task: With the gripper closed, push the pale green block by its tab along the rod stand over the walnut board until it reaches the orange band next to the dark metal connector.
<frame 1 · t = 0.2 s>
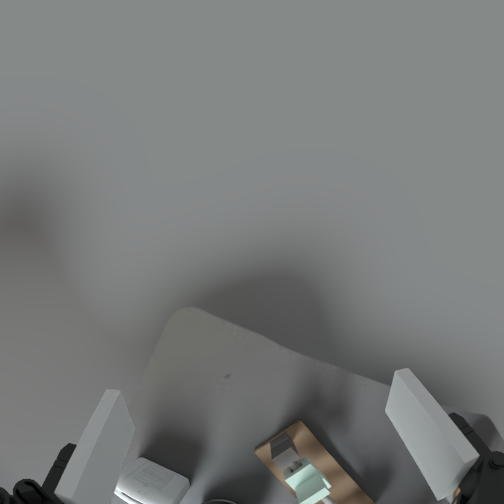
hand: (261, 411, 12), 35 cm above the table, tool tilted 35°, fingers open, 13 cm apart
photo printer: (162, 474, 39), on the table
rod stand: (319, 481, 38), on the table
pale green block: (309, 485, 29), point 11 cm above the table, slide at 0.0 cm
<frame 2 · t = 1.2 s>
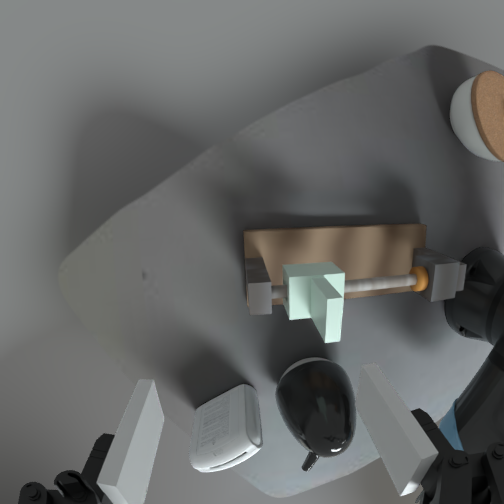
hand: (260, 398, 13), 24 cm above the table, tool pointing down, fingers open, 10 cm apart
photo printer: (226, 401, 41), on the table
pump dispenser: (306, 375, 41), on the table
rod stand: (341, 261, 37), on the table
lidded bowl: (465, 122, 34), on the table
pale green block: (318, 298, 26), point 12 cm above the table, slide at 0.0 cm
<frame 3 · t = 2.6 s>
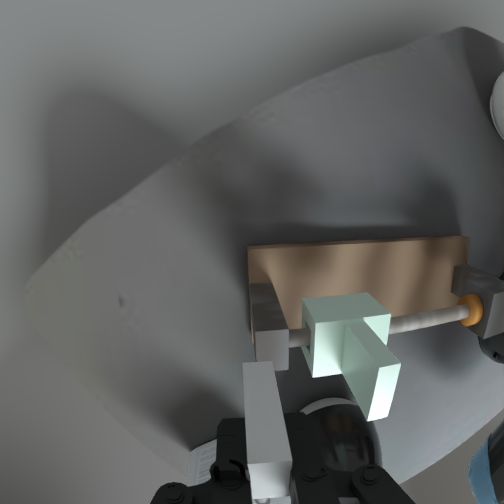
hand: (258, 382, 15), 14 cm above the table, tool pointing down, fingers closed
photo printer: (226, 443, 33), on the table
pump dispenser: (321, 415, 32), on the table
rod stand: (370, 284, 28), on the table
pale green block: (355, 350, 17), point 12 cm above the table, slide at 0.0 cm
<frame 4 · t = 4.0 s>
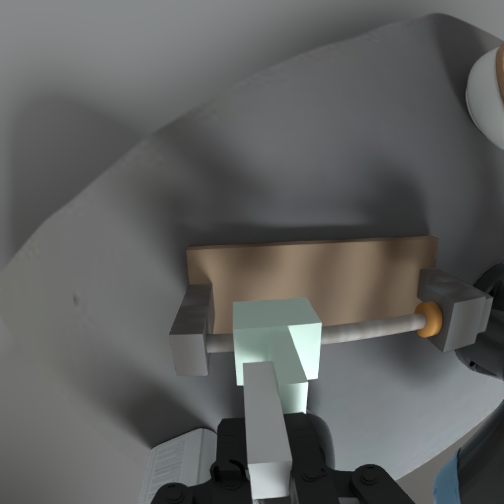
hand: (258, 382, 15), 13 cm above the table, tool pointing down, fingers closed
photo printer: (184, 443, 32), on the table
pump dispenser: (279, 420, 32), on the table
rod stand: (322, 287, 28), on the table
lidded bowl: (483, 107, 25), on the table
pale green block: (279, 361, 16), point 11 cm above the table, slide at 0.3 cm, touching gripper
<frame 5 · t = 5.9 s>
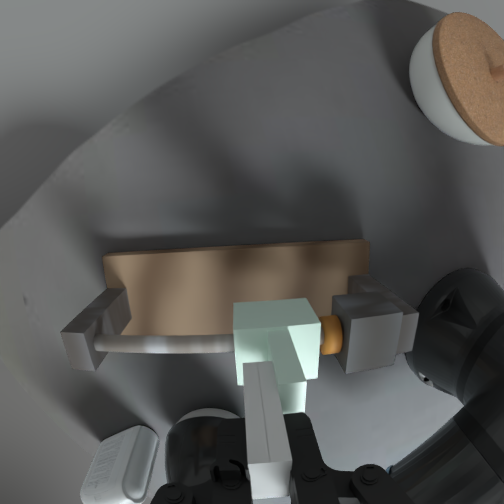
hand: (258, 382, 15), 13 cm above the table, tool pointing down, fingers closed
photo printer: (129, 439, 32), on the table
pump dispenser: (213, 424, 32), on the table
rod stand: (237, 293, 28), on the table
lidded bowl: (436, 93, 24), on the table
pale green block: (279, 360, 17), point 12 cm above the table, slide at 8.3 cm, touching gripper
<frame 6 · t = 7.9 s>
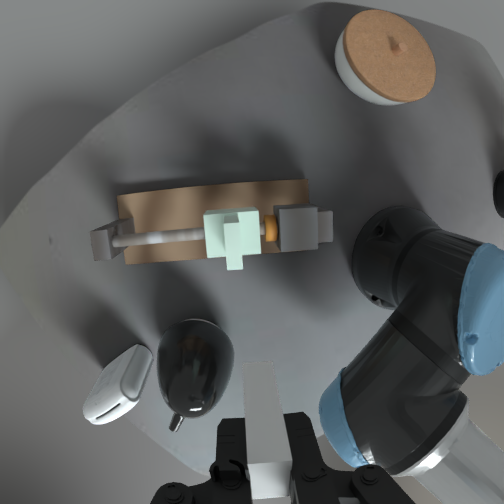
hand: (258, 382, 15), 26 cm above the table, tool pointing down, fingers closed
photo printer: (128, 363, 43), on the table
pump dispenser: (198, 339, 42), on the table
rod stand: (213, 220, 38), on the table
lidded bowl: (363, 73, 35), on the table
pale green block: (232, 235, 27), point 11 cm above the table, slide at 8.3 cm
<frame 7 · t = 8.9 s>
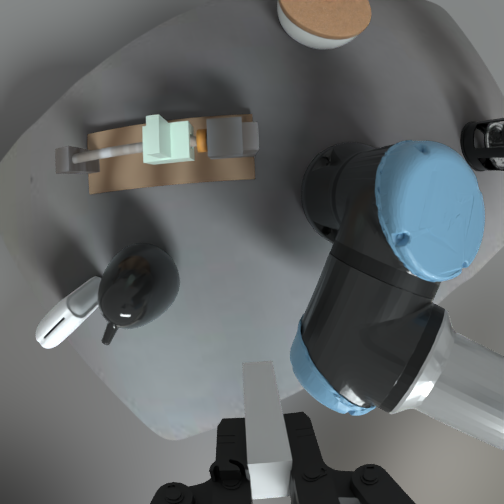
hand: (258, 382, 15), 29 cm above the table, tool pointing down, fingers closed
photo printer: (88, 298, 44), on the table
french press: (477, 145, 41), on the table
pump dispenser: (150, 272, 43), on the table
rod stand: (167, 153, 40), on the table
lidded bowl: (311, 28, 36), on the table
pale green block: (164, 140, 29), point 12 cm above the table, slide at 8.3 cm
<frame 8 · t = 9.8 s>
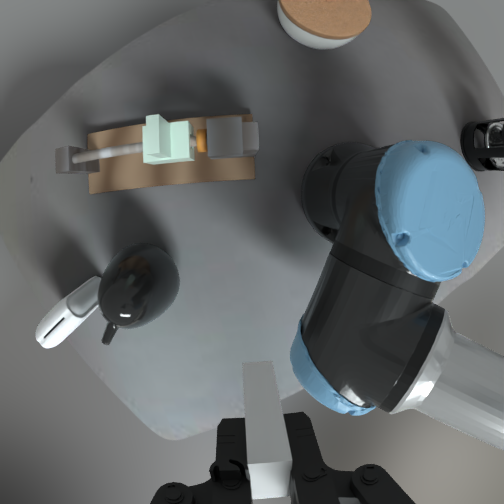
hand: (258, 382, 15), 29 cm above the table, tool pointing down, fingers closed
photo printer: (88, 298, 44), on the table
french press: (477, 145, 41), on the table
pump dispenser: (150, 271, 43), on the table
rod stand: (167, 153, 40), on the table
lidded bowl: (311, 28, 36), on the table
pale green block: (164, 140, 29), point 11 cm above the table, slide at 8.3 cm
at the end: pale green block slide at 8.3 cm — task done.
